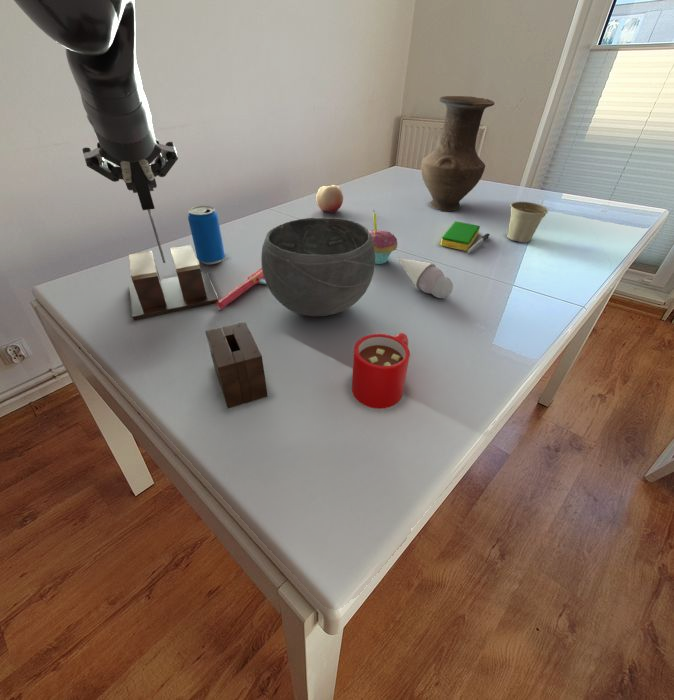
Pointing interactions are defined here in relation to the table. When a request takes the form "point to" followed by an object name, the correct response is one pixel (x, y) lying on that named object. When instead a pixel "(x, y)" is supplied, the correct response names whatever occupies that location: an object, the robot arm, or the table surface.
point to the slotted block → (168, 285)
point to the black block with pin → (145, 198)
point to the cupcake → (382, 243)
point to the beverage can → (206, 234)
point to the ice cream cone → (427, 277)
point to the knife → (478, 243)
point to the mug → (380, 369)
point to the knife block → (237, 364)
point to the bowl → (318, 264)
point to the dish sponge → (460, 236)
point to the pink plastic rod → (242, 288)
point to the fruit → (329, 198)
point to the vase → (455, 153)
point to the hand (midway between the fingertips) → (142, 187)
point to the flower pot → (525, 220)
